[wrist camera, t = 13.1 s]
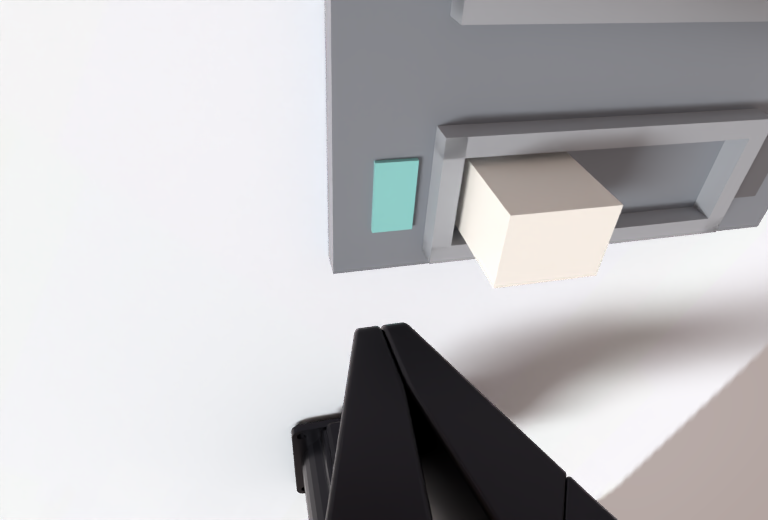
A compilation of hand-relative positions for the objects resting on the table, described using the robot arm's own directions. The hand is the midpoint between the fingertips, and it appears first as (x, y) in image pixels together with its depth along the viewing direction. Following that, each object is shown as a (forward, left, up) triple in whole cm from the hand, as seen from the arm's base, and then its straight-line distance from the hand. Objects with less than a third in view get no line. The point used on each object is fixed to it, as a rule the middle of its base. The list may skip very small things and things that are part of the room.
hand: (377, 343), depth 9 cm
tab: (-4, -8, -11) cm, 14 cm away
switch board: (0, -12, -12) cm, 17 cm away
